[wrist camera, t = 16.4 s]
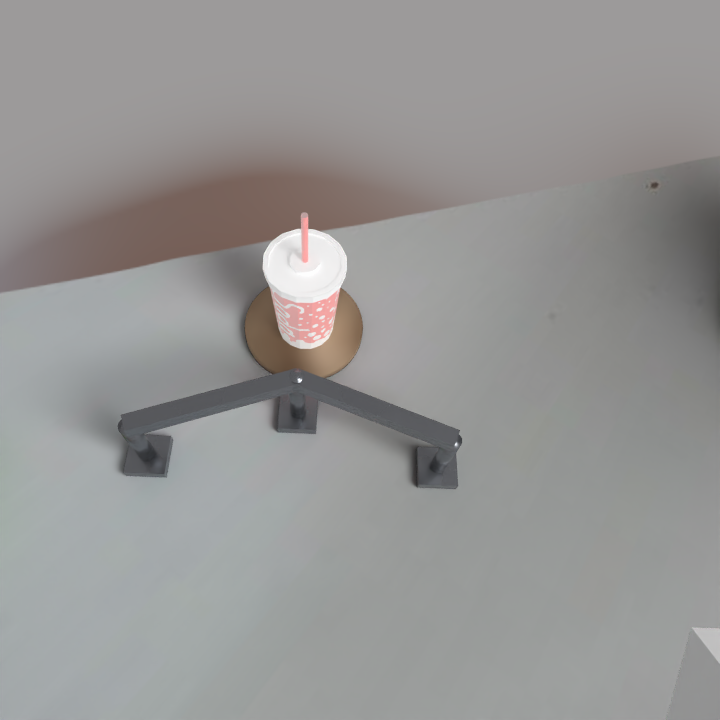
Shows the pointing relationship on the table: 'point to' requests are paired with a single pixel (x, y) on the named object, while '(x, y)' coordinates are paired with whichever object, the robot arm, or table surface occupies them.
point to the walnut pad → (285, 357)
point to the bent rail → (289, 422)
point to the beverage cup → (305, 283)
